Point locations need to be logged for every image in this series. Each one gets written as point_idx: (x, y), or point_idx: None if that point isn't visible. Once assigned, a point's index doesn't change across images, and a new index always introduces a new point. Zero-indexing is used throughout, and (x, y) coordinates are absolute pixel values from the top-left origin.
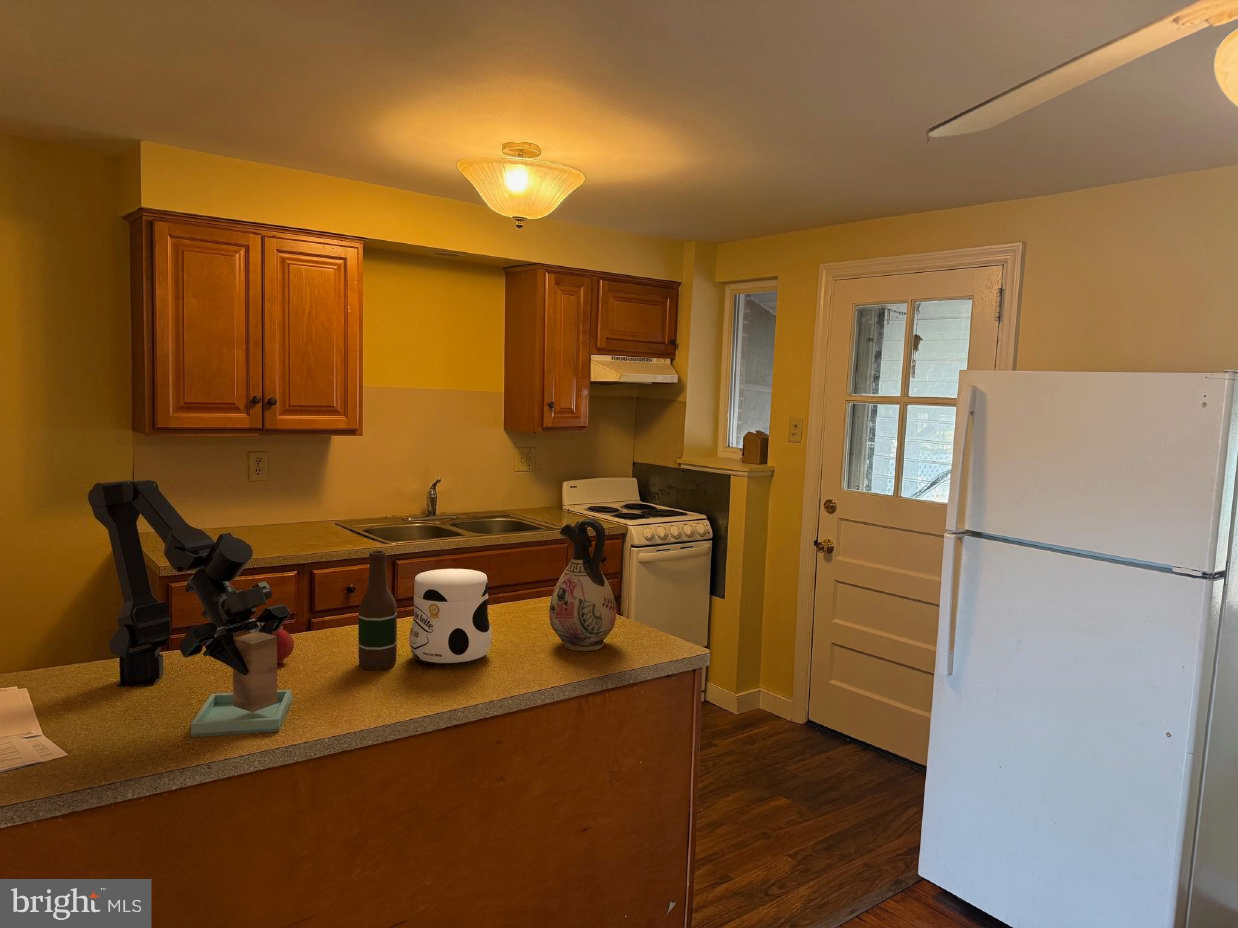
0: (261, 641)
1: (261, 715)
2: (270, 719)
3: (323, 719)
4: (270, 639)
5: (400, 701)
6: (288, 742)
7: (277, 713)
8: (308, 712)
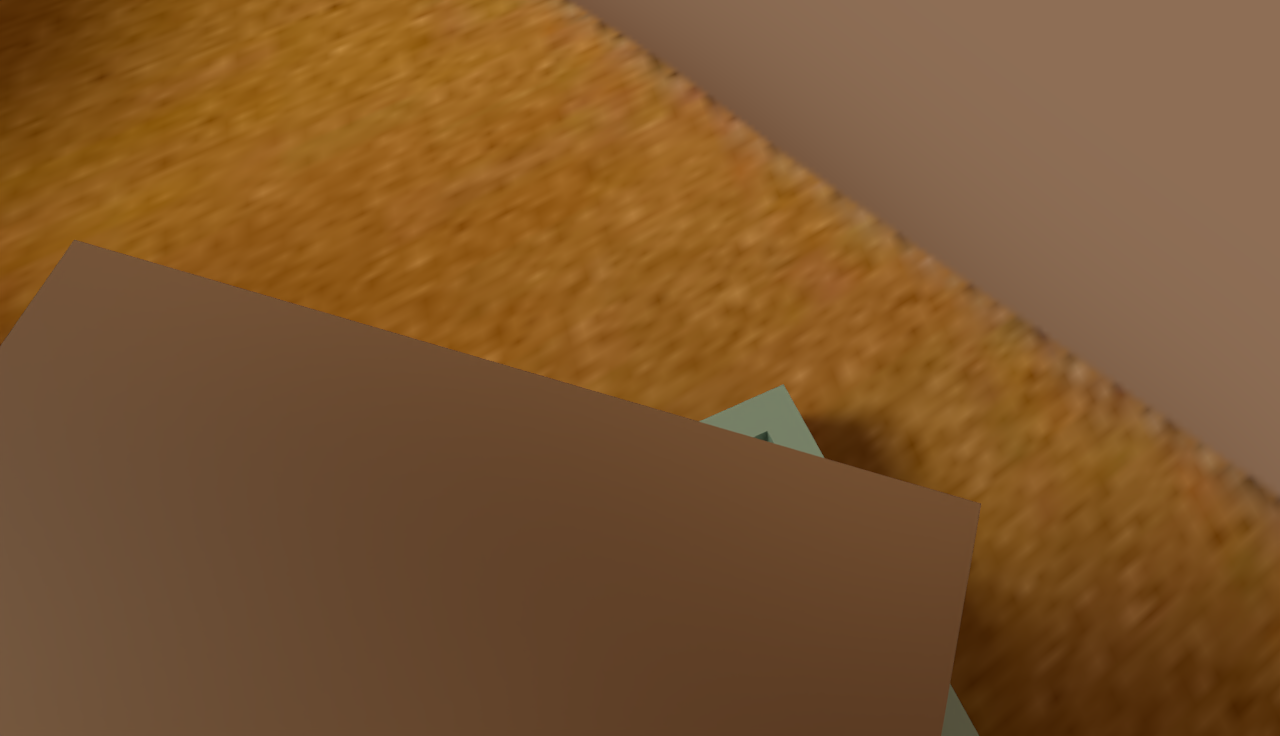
0: (586, 399)
1: None
2: (810, 441)
3: (524, 272)
4: (289, 321)
5: (211, 39)
6: (894, 276)
7: None
8: None
